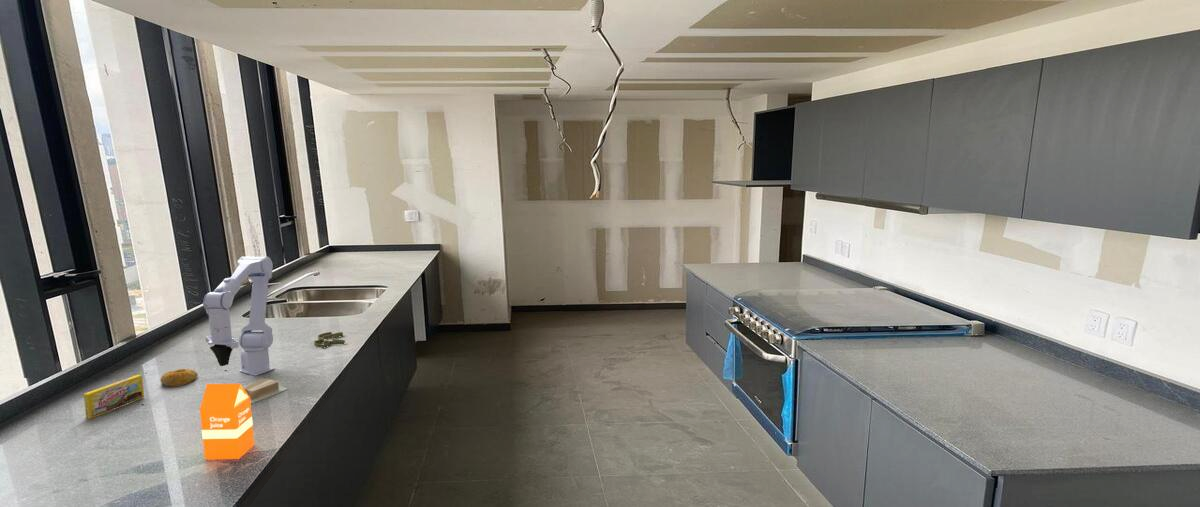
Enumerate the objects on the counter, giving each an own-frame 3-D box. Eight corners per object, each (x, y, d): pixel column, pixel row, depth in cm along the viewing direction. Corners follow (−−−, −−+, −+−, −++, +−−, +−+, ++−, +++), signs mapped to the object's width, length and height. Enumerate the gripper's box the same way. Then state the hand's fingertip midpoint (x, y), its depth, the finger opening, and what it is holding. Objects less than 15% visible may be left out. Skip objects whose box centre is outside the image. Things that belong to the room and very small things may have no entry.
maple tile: (239, 387, 181) (252, 391, 178) (264, 378, 189) (278, 381, 186) (240, 395, 181) (253, 399, 179) (265, 386, 190) (278, 389, 187)
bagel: (205, 378, 196) (203, 366, 195) (171, 390, 186) (169, 377, 185) (188, 374, 200) (187, 362, 199) (154, 385, 190) (152, 372, 189)
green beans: (345, 346, 234) (345, 342, 234) (314, 350, 228) (314, 346, 228) (343, 334, 250) (342, 330, 249) (314, 338, 244) (314, 333, 244)
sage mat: (235, 399, 179) (235, 398, 179) (272, 385, 191) (272, 384, 191) (250, 403, 176) (250, 403, 176) (287, 389, 188) (287, 388, 188)
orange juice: (222, 444, 151) (215, 378, 148) (254, 444, 152) (249, 377, 148) (204, 460, 143) (196, 389, 140) (238, 459, 144) (232, 389, 141)
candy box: (91, 419, 163) (87, 394, 162) (85, 419, 164) (81, 393, 163) (145, 397, 179) (142, 374, 178) (140, 397, 180) (137, 373, 178)
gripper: (194, 326, 179) (198, 365, 181) (221, 333, 173) (225, 372, 175) (216, 321, 185) (220, 358, 187) (243, 327, 180) (246, 365, 182)
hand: (224, 364), depth 182 cm, fingers closed
